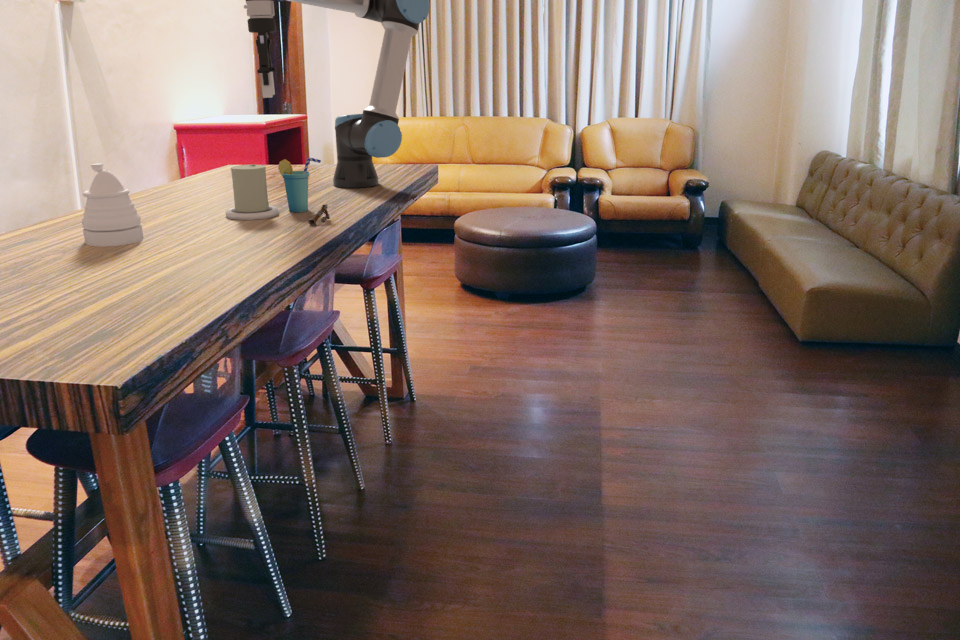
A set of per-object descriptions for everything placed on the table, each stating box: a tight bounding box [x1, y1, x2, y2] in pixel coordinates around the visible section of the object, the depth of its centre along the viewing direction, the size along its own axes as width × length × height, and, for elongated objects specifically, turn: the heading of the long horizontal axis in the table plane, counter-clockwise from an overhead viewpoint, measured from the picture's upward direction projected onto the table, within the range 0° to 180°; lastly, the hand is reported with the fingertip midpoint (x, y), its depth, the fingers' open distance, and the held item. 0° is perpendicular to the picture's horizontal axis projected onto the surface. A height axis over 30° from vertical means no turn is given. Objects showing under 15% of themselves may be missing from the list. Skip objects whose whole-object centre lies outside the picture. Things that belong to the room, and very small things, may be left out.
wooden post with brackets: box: [307, 203, 331, 226], centre depth 212 cm, size 2×8×4 cm, turn 157°
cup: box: [278, 157, 322, 213], centre depth 226 cm, size 14×8×15 cm, turn 73°
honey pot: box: [81, 163, 144, 248], centre depth 190 cm, size 13×13×18 cm
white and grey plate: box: [225, 205, 280, 221], centre depth 222 cm, size 14×14×2 cm
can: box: [230, 163, 270, 212], centre depth 220 cm, size 9×9×12 cm
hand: (269, 96), depth 233 cm, fingers open, 13 cm apart
